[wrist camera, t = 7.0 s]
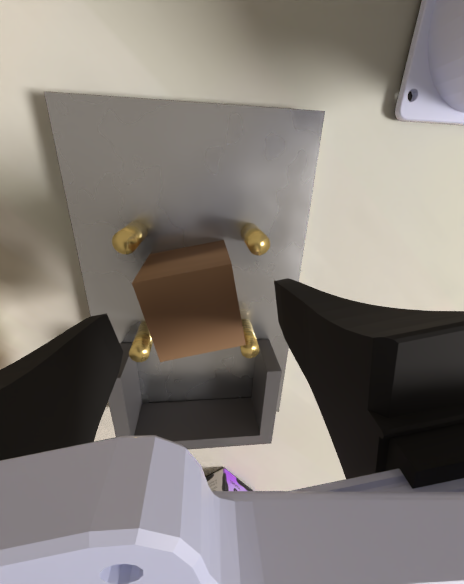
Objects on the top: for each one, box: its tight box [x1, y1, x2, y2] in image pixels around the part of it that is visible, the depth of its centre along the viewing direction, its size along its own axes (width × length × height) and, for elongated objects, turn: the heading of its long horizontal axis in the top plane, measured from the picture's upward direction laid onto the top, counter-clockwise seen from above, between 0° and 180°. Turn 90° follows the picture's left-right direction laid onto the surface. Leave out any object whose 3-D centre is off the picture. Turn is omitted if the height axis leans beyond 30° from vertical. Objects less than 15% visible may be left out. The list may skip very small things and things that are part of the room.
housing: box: [108, 339, 282, 449], centre depth 16 cm, size 6×9×3 cm, turn 88°
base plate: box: [44, 92, 325, 421], centre depth 15 cm, size 19×12×4 cm, turn 178°
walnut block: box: [132, 240, 246, 362], centre depth 13 cm, size 4×4×4 cm
